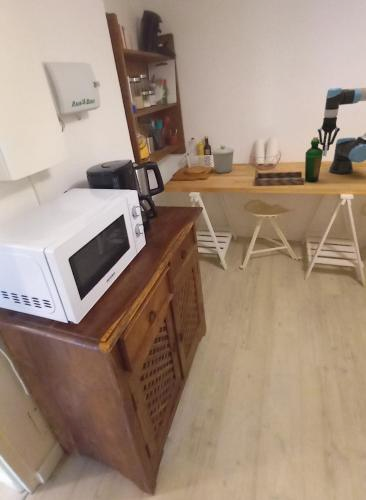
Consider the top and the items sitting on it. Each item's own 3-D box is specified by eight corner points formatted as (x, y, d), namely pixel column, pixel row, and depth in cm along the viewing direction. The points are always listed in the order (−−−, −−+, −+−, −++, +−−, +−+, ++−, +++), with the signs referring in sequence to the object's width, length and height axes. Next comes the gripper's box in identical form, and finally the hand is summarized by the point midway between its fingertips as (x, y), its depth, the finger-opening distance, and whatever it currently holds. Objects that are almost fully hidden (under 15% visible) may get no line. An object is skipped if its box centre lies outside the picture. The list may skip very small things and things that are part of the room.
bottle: (321, 182, 196) (326, 138, 182) (304, 183, 198) (308, 140, 184) (318, 177, 205) (322, 135, 191) (302, 178, 207) (305, 137, 193)
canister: (239, 170, 240) (239, 143, 229) (224, 175, 230) (224, 148, 219) (222, 167, 252) (221, 141, 241) (208, 172, 242) (206, 146, 231)
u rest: (300, 176, 210) (301, 168, 207) (303, 184, 196) (304, 175, 193) (255, 178, 218) (255, 170, 215) (254, 185, 204) (254, 177, 201)
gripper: (340, 115, 181) (334, 153, 193) (318, 116, 184) (313, 154, 196) (343, 116, 175) (336, 156, 187) (320, 118, 178) (314, 157, 190)
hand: (324, 155), depth 191 cm, fingers closed
